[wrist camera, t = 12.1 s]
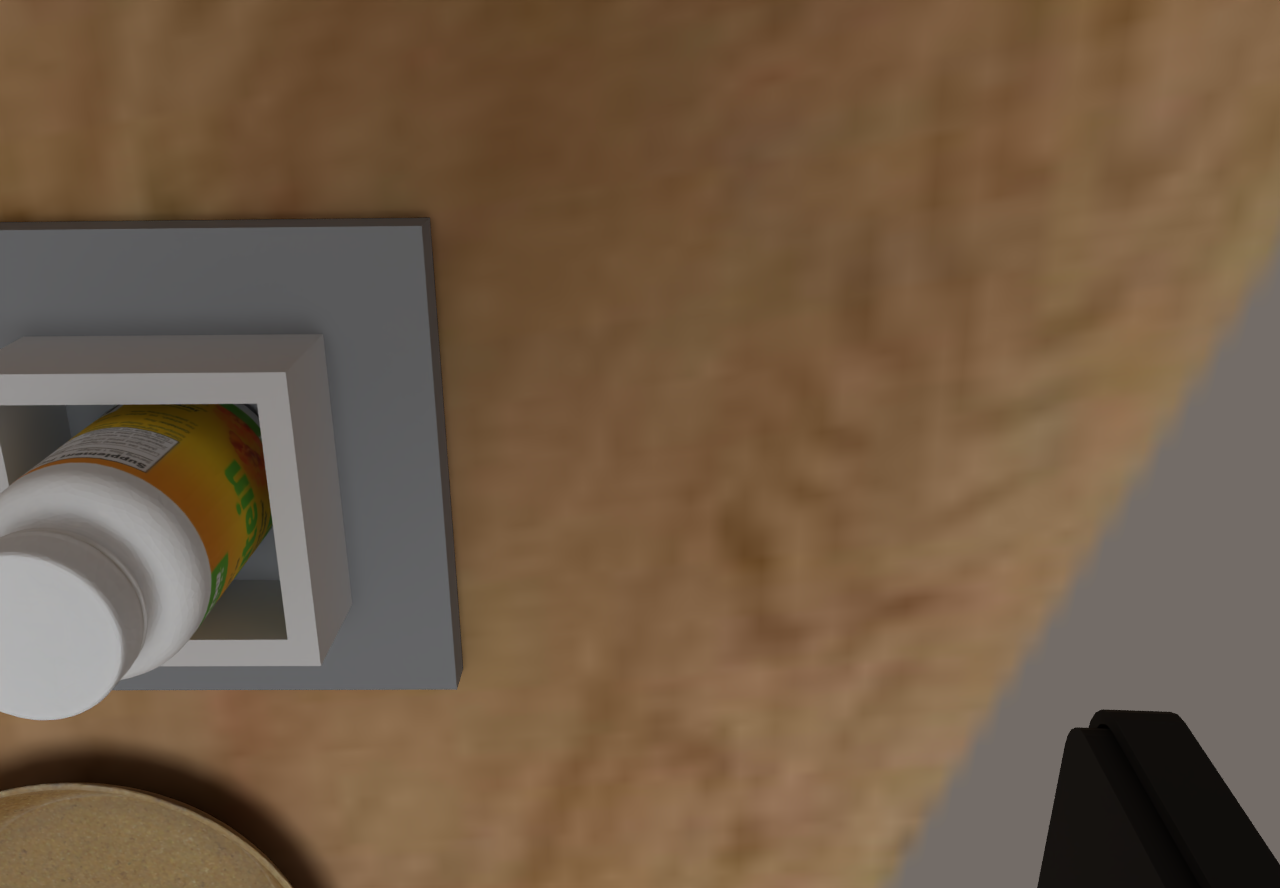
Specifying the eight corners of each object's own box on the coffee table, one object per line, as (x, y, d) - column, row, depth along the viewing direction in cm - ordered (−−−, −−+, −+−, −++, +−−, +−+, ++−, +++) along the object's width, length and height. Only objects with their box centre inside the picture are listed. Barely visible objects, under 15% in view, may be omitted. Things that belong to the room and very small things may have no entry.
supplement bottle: (293, 561, 36) (165, 759, 26) (107, 548, 36) (-85, 742, 26) (287, 384, 34) (147, 532, 25) (90, 371, 34) (-123, 513, 25)
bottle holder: (-81, 223, 33) (-193, 259, 29) (429, 217, 33) (394, 253, 29) (17, 669, 38) (-66, 757, 34) (463, 668, 38) (436, 757, 34)
